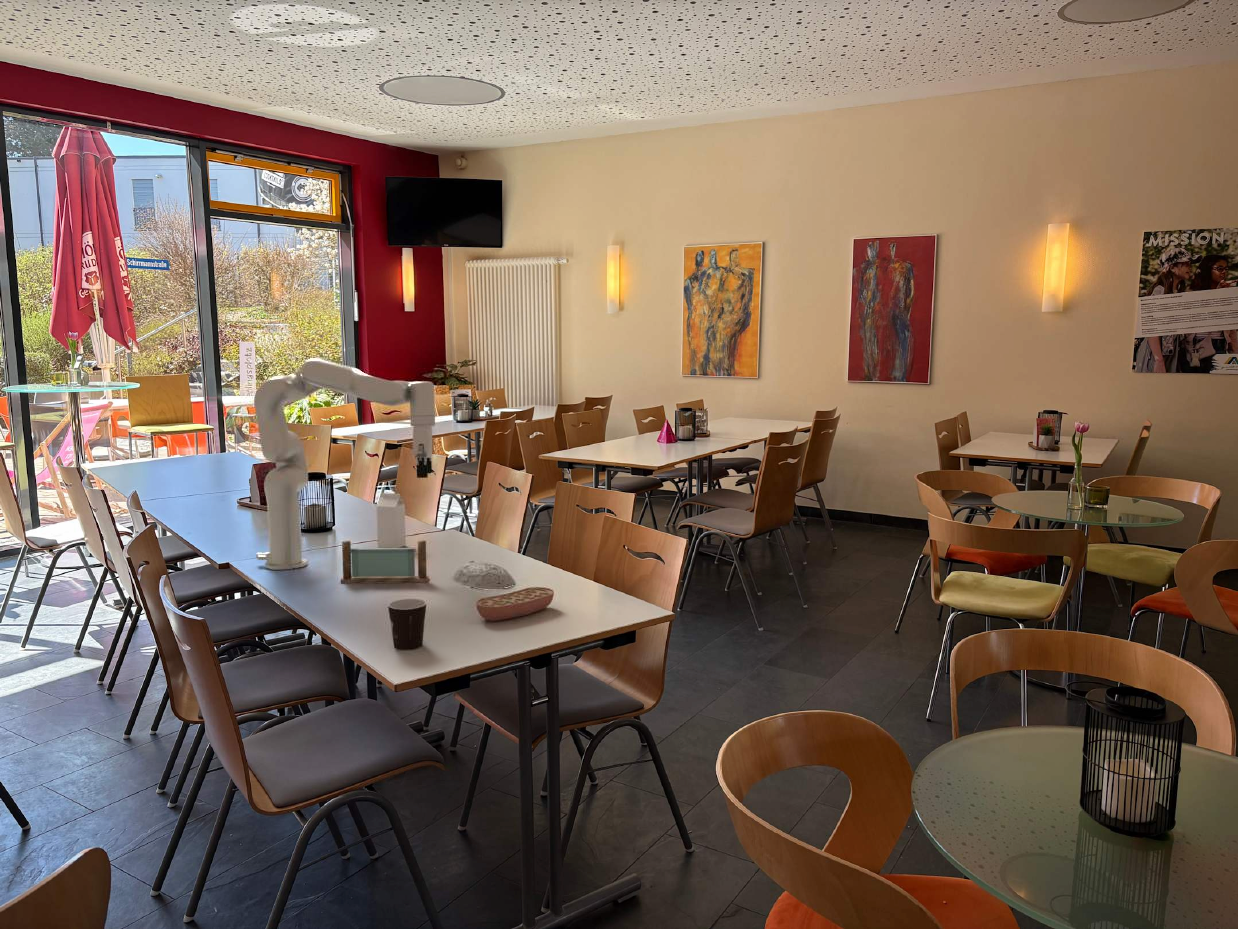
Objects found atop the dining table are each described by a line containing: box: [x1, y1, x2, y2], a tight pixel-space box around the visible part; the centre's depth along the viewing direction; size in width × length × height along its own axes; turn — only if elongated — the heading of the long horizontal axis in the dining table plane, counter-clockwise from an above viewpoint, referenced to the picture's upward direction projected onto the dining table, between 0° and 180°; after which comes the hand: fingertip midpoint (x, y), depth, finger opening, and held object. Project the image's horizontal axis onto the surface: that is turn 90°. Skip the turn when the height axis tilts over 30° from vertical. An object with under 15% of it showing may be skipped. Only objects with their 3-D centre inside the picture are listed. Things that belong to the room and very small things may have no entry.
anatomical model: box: [475, 586, 555, 622], centre depth 225 cm, size 23×10×5 cm, turn 134°
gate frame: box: [340, 539, 430, 584], centre depth 257 cm, size 25×4×12 cm, turn 94°
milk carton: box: [376, 492, 407, 548], centre depth 301 cm, size 7×7×19 cm
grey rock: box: [451, 560, 516, 590], centre depth 259 cm, size 16×25×7 cm, turn 46°
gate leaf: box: [350, 547, 416, 577], centre depth 257 cm, size 19×2×8 cm, turn 94°
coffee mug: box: [387, 598, 427, 651], centre depth 199 cm, size 12×9×10 cm
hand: (424, 475), depth 272 cm, fingers open, 9 cm apart
